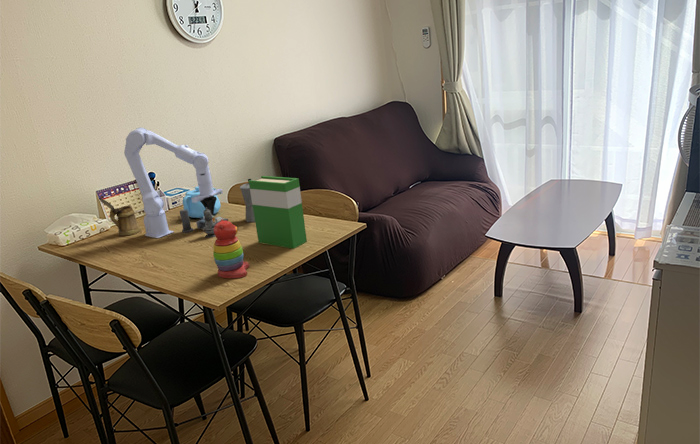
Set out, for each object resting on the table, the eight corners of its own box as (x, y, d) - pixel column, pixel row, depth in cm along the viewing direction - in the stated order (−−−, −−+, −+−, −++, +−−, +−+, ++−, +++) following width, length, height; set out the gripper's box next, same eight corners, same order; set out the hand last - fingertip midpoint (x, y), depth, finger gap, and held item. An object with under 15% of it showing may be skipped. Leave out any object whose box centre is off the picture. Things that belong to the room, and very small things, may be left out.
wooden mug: (105, 237, 221) (94, 197, 215) (135, 227, 230) (125, 188, 225) (114, 240, 215) (103, 199, 210) (144, 230, 225) (135, 190, 219)
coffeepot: (239, 218, 228) (232, 179, 222) (258, 213, 233) (252, 174, 227) (255, 226, 216) (248, 184, 210) (275, 220, 221) (269, 179, 215)
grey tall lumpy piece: (205, 234, 212) (200, 206, 208) (220, 232, 212) (214, 204, 208) (202, 239, 206) (197, 210, 202) (217, 237, 206) (212, 208, 203)
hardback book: (258, 242, 195) (248, 180, 188) (271, 236, 201) (262, 175, 194) (293, 248, 185) (284, 183, 178) (306, 241, 191) (298, 178, 184)
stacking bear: (246, 277, 165) (237, 224, 159) (214, 281, 165) (204, 228, 159) (250, 264, 175) (241, 214, 170) (220, 267, 175) (210, 217, 169)
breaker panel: (197, 228, 220) (195, 218, 219) (212, 222, 226) (210, 212, 225) (214, 231, 214) (212, 221, 212) (229, 225, 220) (227, 215, 218)
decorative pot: (218, 218, 232) (213, 189, 228) (182, 222, 231) (176, 193, 227) (224, 208, 247) (219, 180, 243) (190, 212, 247) (184, 184, 242)
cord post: (180, 232, 218) (175, 211, 215) (188, 228, 221) (184, 208, 218) (186, 233, 215) (182, 212, 212) (195, 230, 218) (191, 209, 216)
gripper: (197, 188, 206) (203, 220, 210) (225, 179, 217) (230, 210, 221) (186, 187, 210) (192, 218, 215) (214, 178, 221) (219, 208, 225)
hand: (211, 214), depth 218 cm, fingers closed
